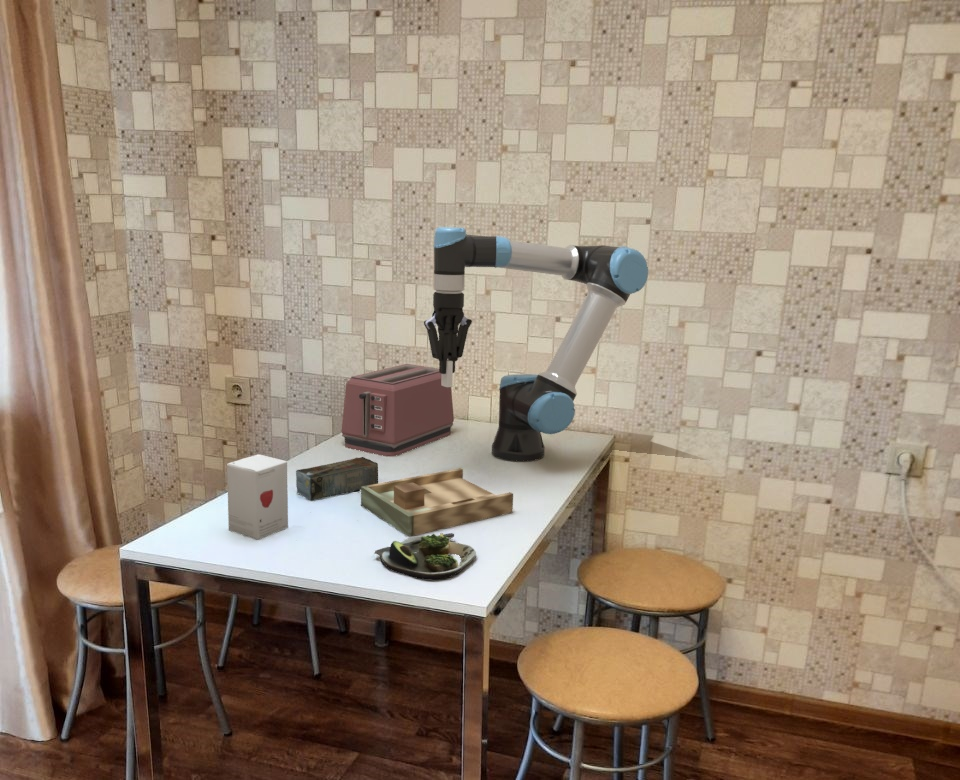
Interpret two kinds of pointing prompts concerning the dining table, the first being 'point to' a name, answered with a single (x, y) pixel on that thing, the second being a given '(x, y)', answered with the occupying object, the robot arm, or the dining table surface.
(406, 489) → the block
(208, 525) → the dining table surface
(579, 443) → the dining table surface
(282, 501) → the supplement box
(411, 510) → the box
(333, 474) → the beverage carton
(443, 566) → the salad plate
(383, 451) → the toaster
